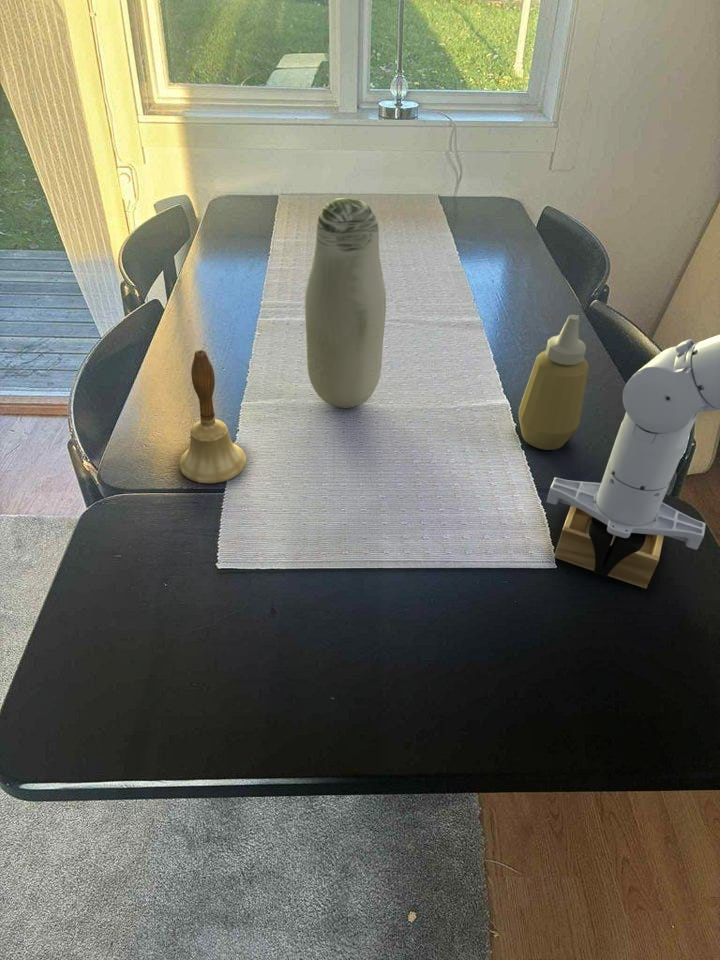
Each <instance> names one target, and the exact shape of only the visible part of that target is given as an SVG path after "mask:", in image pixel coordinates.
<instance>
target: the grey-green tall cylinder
mask: <svg viewBox="0 0 720 960" xmlns="http://www.w3.org/2000/svg"><path fill="white" fill-rule="evenodd" d="M378 222H379V221H378V219H377V216H376V214H375V211H374V210H373V209H372V208H371V206H370V205H368V204H367V203H366V202H364V201H363V200H362V201H361V200H359V199H357V198H353V197H338V198H334V199H331V200H329V201H328V202H327V203H326V204H325V205H323V208H322V209H321V211H320V213H319V215H318V218H317V222H316V227H315V243H314V249H313V257H312V262H311V266H310V269H309V273H308V277H307V282H306V285H305V293H304V322H305V338H306V339H305V341H306V366H307V373H308V378H309V381H310V385H311V386H312V389H313V390H314V392H315V393H316V394H317V396H318V397H319V398H320V399H321V400H322V401H324V402H325V403H328V404H330V405H332V406H334V407H337V408H342V409H343V408H344V409H347V408H349V409H350V408H355V407H358V406H360V405H362V404H364V403H365V402H366V401H368V400H369V399H370V398H371V397H372V395H373V394H374V392H375V390H376V388H377V386H378V383H379V381H380V377H381V373H382V362H383V348H384V347H383V345H384V335H385V326H386V313H387V296H386V295H387V293H386V287H385V279H384V273H383V267H382V264H381V263H382V262H381V258H380V257H381V256H380V244H379V243H380V241H379V240H380V230H379V229H380V228H379V223H378Z"/></svg>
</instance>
